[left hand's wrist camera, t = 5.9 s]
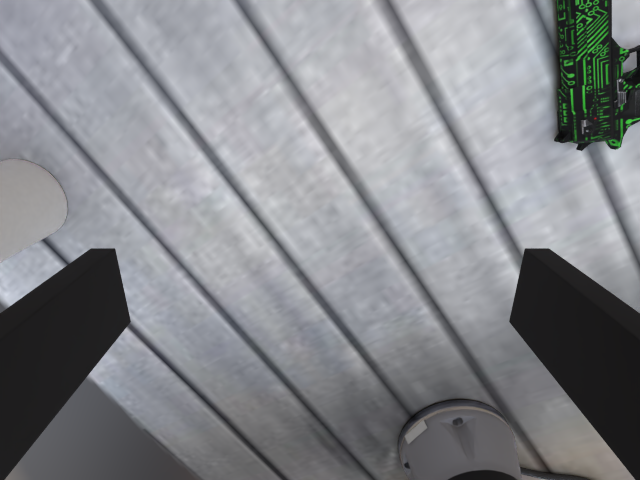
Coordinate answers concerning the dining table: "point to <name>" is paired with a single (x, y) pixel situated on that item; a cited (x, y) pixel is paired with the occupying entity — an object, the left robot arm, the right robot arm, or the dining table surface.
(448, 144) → the dining table surface
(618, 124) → the handgun
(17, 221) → the jar
